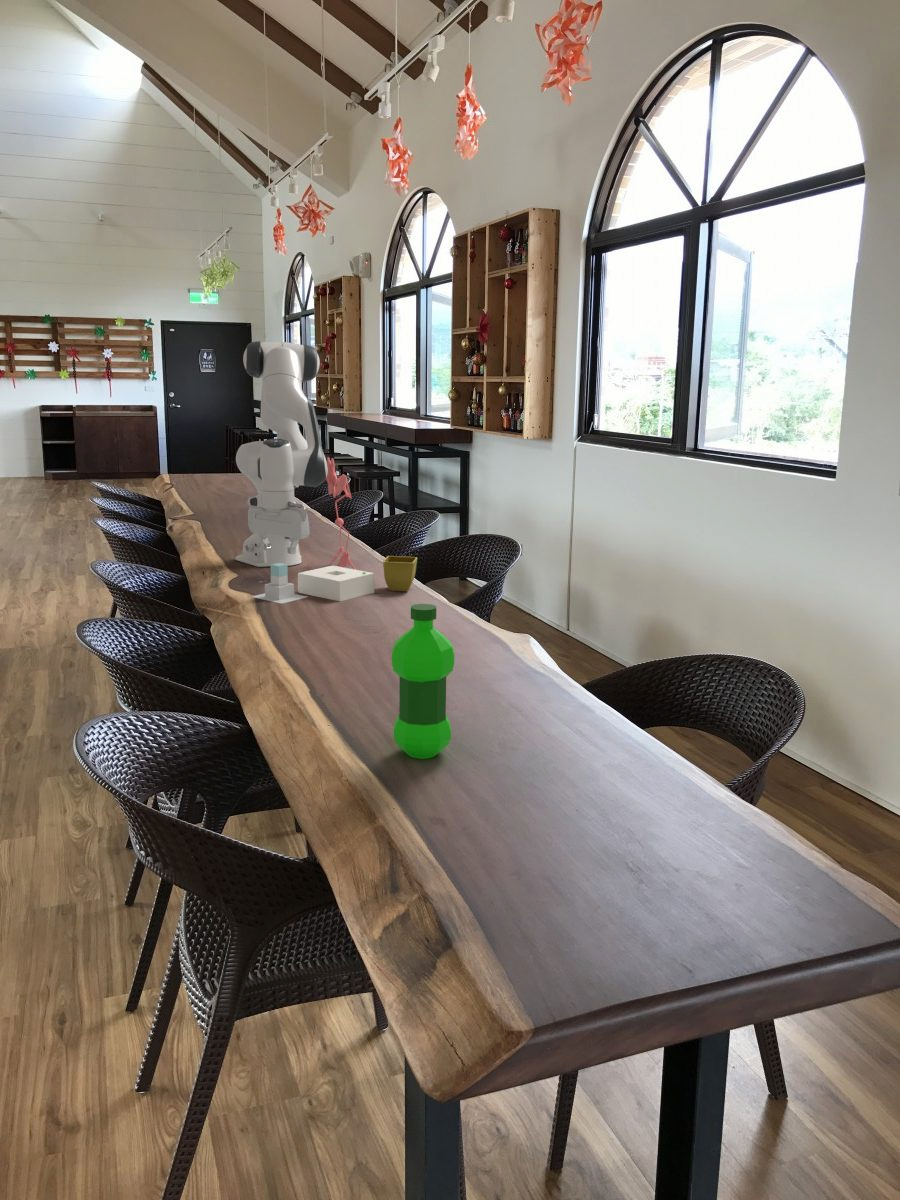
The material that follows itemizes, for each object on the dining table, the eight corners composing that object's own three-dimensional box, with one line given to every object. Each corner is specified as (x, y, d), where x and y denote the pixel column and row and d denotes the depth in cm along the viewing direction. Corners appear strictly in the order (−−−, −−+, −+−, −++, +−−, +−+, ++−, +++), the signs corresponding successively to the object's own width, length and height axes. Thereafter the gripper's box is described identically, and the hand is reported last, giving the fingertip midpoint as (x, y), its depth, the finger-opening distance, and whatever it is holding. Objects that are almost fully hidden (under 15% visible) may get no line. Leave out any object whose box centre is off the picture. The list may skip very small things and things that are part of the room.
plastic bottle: (451, 740, 164) (453, 599, 158) (453, 765, 154) (456, 615, 148) (392, 740, 164) (393, 598, 158) (391, 765, 154) (391, 614, 148)
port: (298, 594, 267) (297, 571, 266) (332, 585, 278) (332, 564, 277) (340, 603, 258) (340, 579, 256) (374, 594, 269) (374, 571, 267)
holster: (250, 598, 261) (250, 584, 260) (277, 592, 269) (277, 578, 268) (281, 605, 254) (281, 590, 253) (308, 598, 262) (308, 584, 261)
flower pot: (417, 587, 279) (417, 556, 276) (413, 593, 270) (413, 562, 268) (387, 585, 279) (387, 555, 277) (382, 592, 271) (382, 561, 269)
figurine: (347, 559, 316) (344, 452, 307) (362, 575, 292) (359, 460, 283) (301, 562, 312) (296, 454, 303) (312, 579, 288) (307, 462, 279)
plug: (271, 596, 261) (270, 564, 259) (279, 594, 264) (279, 562, 262) (279, 598, 259) (278, 566, 257) (288, 596, 262) (287, 564, 260)
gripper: (314, 502, 252) (315, 554, 255) (260, 496, 264) (262, 546, 267) (297, 505, 247) (298, 557, 250) (243, 498, 259) (245, 549, 262)
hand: (279, 551), depth 258 cm, fingers open, 8 cm apart
